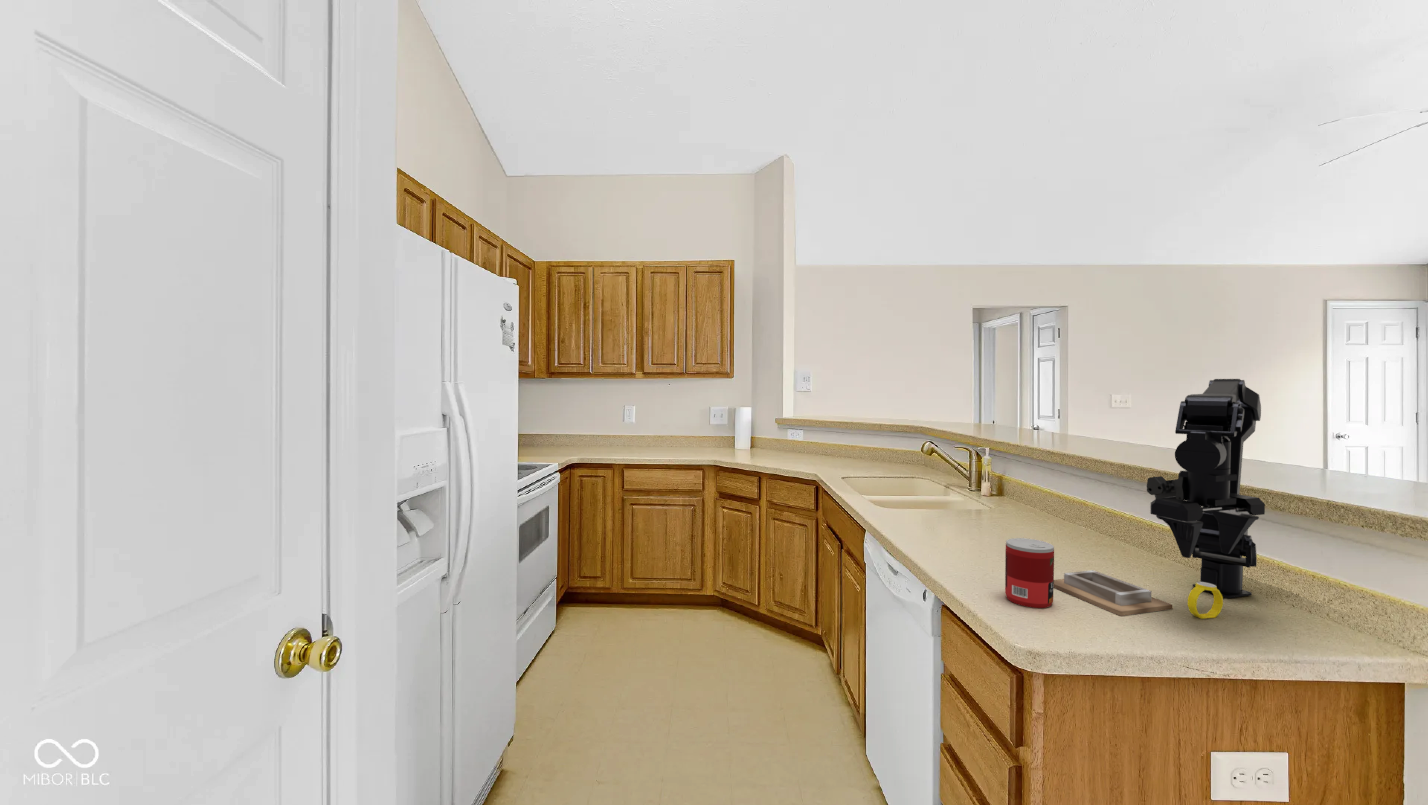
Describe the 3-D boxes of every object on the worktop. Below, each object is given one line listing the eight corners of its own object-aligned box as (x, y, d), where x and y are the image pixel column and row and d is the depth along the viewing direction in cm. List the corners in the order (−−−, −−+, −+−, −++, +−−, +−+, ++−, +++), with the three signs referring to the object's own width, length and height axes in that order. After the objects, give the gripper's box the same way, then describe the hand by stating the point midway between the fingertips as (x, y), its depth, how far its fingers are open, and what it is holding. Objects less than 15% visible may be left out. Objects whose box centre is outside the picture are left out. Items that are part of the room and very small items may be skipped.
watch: (1209, 614, 100) (1212, 581, 100) (1226, 620, 97) (1229, 586, 97) (1182, 614, 99) (1184, 581, 99) (1198, 621, 96) (1201, 586, 96)
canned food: (1060, 610, 101) (1061, 550, 101) (1012, 607, 103) (1013, 548, 102) (1044, 594, 109) (1045, 538, 108) (999, 591, 110) (1000, 536, 110)
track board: (1093, 579, 117) (1093, 566, 117) (1172, 608, 102) (1172, 593, 101) (1046, 584, 114) (1046, 571, 114) (1120, 616, 99) (1120, 600, 98)
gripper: (1198, 458, 107) (1196, 538, 108) (1121, 462, 103) (1120, 546, 103) (1268, 467, 97) (1265, 556, 97) (1186, 472, 92) (1184, 565, 93)
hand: (1206, 555), depth 98 cm, fingers open, 9 cm apart
